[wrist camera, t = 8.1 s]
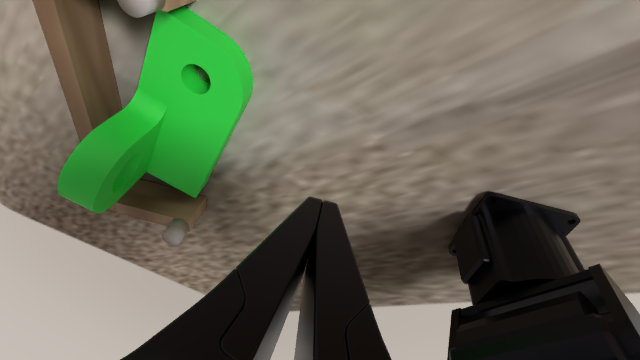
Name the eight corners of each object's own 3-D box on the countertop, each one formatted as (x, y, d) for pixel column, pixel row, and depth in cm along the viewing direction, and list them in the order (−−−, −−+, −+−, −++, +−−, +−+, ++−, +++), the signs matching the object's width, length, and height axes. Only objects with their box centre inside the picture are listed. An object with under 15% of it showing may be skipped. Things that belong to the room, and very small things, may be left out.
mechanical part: (206, 182, 27) (150, 259, 20) (137, 143, 25) (55, 214, 19) (269, 61, 20) (213, 123, 13) (177, -1, 18) (67, 36, 12)
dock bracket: (194, -27, 17) (144, -15, 14) (206, 207, 28) (180, 247, 25) (64, -60, 17) (-19, -56, 14) (127, 186, 28) (90, 223, 25)
